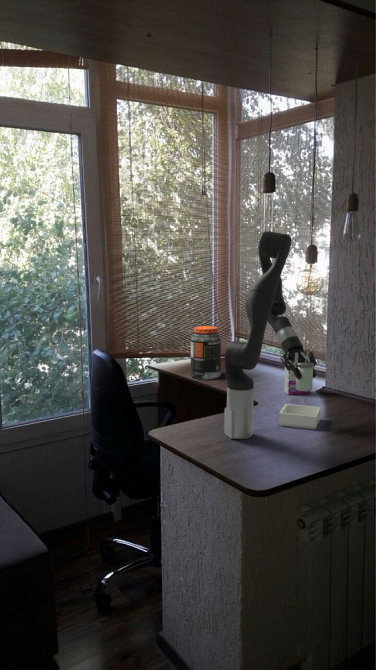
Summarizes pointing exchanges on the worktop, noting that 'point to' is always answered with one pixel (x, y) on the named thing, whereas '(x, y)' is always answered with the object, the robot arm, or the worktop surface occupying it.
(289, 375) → the candy bar box
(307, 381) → the jar
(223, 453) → the worktop surface
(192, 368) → the supplement tub
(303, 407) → the tray
